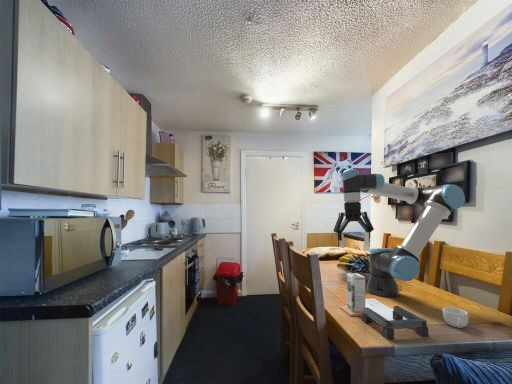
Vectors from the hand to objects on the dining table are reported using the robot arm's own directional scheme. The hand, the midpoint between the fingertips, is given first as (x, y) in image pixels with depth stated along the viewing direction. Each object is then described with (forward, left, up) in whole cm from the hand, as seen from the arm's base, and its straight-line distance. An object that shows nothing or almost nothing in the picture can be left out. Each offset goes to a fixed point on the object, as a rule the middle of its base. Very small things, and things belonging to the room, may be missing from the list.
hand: (354, 246), depth 120 cm
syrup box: (+6, +10, -25) cm, 28 cm away
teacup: (-24, +28, -26) cm, 45 cm away
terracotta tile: (+6, +10, -26) cm, 28 cm away
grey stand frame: (0, +26, -26) cm, 37 cm away
